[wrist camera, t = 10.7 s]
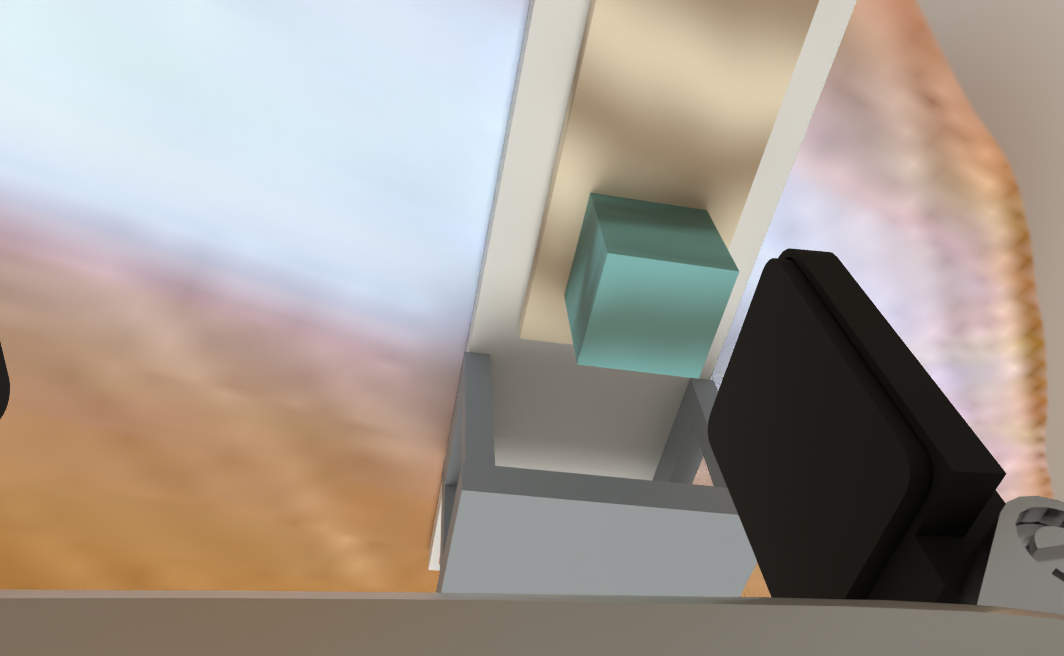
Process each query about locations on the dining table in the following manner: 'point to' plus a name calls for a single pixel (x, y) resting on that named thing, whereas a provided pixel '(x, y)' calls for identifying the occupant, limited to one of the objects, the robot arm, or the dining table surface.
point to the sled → (658, 176)
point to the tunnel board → (593, 384)
